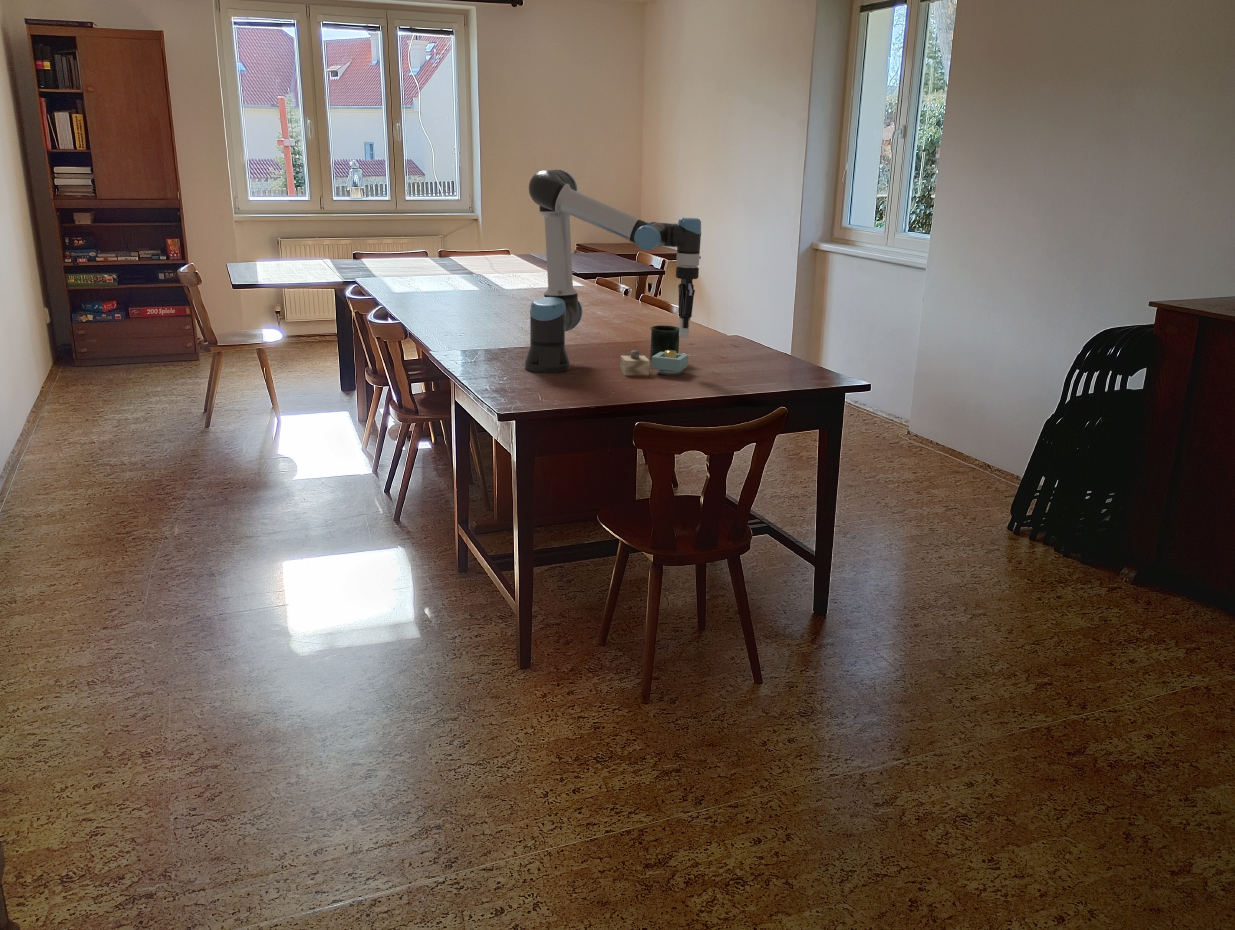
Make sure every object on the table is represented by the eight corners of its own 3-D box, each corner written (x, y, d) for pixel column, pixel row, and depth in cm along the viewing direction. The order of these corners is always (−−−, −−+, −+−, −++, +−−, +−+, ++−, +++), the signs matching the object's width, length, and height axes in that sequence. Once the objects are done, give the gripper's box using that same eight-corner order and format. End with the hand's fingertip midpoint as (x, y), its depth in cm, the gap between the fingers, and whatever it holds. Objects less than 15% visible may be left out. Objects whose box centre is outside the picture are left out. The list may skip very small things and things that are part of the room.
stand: (624, 375, 316) (625, 353, 314) (620, 369, 324) (620, 348, 322) (649, 375, 318) (650, 353, 315) (644, 369, 325) (644, 348, 323)
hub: (660, 375, 317) (661, 353, 315) (655, 370, 325) (656, 349, 323) (683, 375, 319) (684, 353, 316) (678, 370, 326) (679, 348, 324)
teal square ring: (651, 368, 318) (651, 356, 317) (660, 363, 327) (660, 351, 326) (679, 371, 315) (680, 359, 314) (687, 366, 324) (688, 354, 323)
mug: (658, 365, 333) (659, 331, 330) (639, 357, 346) (640, 324, 342) (684, 363, 338) (686, 330, 334) (665, 355, 350) (666, 323, 347)
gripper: (704, 268, 305) (699, 340, 313) (693, 263, 319) (689, 333, 326) (681, 268, 304) (677, 340, 312) (671, 263, 317) (668, 333, 325)
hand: (683, 336), depth 319 cm, fingers closed
